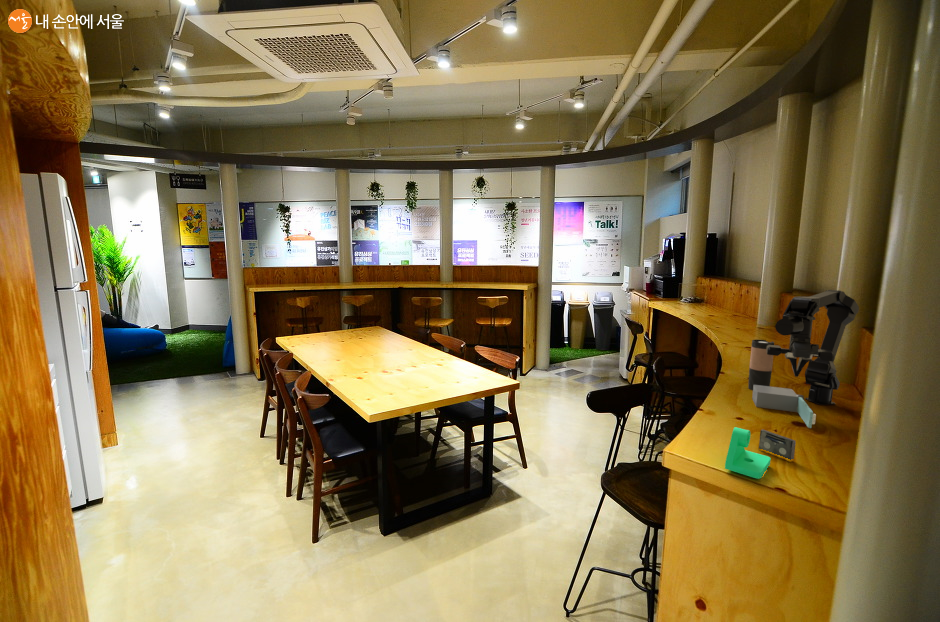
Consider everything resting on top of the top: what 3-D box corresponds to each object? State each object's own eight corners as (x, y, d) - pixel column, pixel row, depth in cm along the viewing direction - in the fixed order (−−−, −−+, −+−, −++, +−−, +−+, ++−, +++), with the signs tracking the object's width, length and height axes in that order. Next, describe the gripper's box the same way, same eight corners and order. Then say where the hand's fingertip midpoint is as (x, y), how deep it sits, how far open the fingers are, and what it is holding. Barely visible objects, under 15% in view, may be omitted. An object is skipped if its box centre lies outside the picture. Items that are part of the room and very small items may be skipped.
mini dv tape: (793, 461, 117) (795, 440, 116) (790, 462, 116) (792, 441, 116) (761, 449, 124) (763, 428, 124) (758, 450, 124) (760, 429, 123)
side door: (797, 411, 153) (798, 397, 152) (803, 412, 152) (805, 397, 151) (808, 427, 139) (810, 411, 138) (815, 428, 138) (817, 412, 137)
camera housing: (798, 404, 161) (799, 389, 160) (805, 413, 152) (806, 398, 151) (752, 398, 167) (753, 384, 167) (756, 406, 158) (757, 392, 158)
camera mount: (759, 483, 106) (763, 443, 105) (724, 472, 111) (727, 434, 110) (770, 466, 114) (774, 429, 113) (737, 457, 120) (740, 421, 118)
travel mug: (749, 390, 177) (754, 342, 174) (745, 385, 184) (750, 338, 181) (772, 393, 174) (777, 343, 171) (767, 387, 181) (772, 340, 178)
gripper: (770, 334, 151) (766, 378, 153) (840, 339, 141) (834, 386, 143) (768, 329, 160) (764, 370, 162) (833, 334, 151) (828, 378, 153)
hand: (796, 376), depth 155 cm, fingers closed
